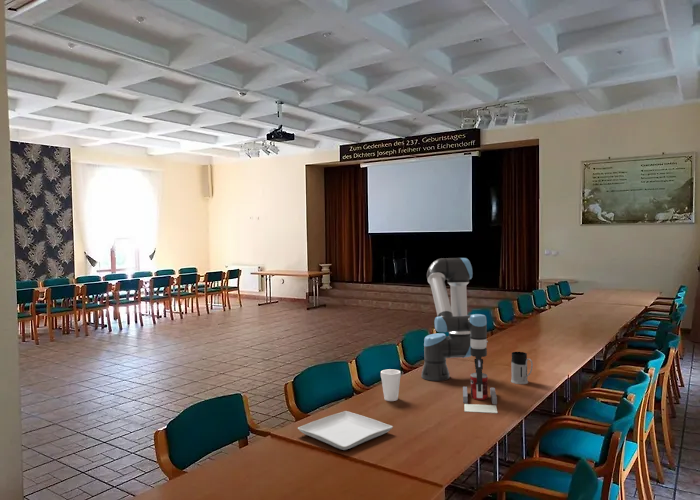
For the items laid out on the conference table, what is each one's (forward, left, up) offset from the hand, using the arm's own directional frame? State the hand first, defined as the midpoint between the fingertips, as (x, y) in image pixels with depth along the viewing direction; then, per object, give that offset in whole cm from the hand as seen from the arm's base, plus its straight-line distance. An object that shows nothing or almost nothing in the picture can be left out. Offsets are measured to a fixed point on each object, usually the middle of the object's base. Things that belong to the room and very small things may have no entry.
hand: (479, 395), depth 248 cm
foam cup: (-41, -8, -1) cm, 42 cm away
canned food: (0, 0, -1) cm, 1 cm away
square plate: (-53, -55, -2) cm, 76 cm away
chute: (0, -7, -1) cm, 7 cm away
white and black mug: (+23, +28, -2) cm, 36 cm away
